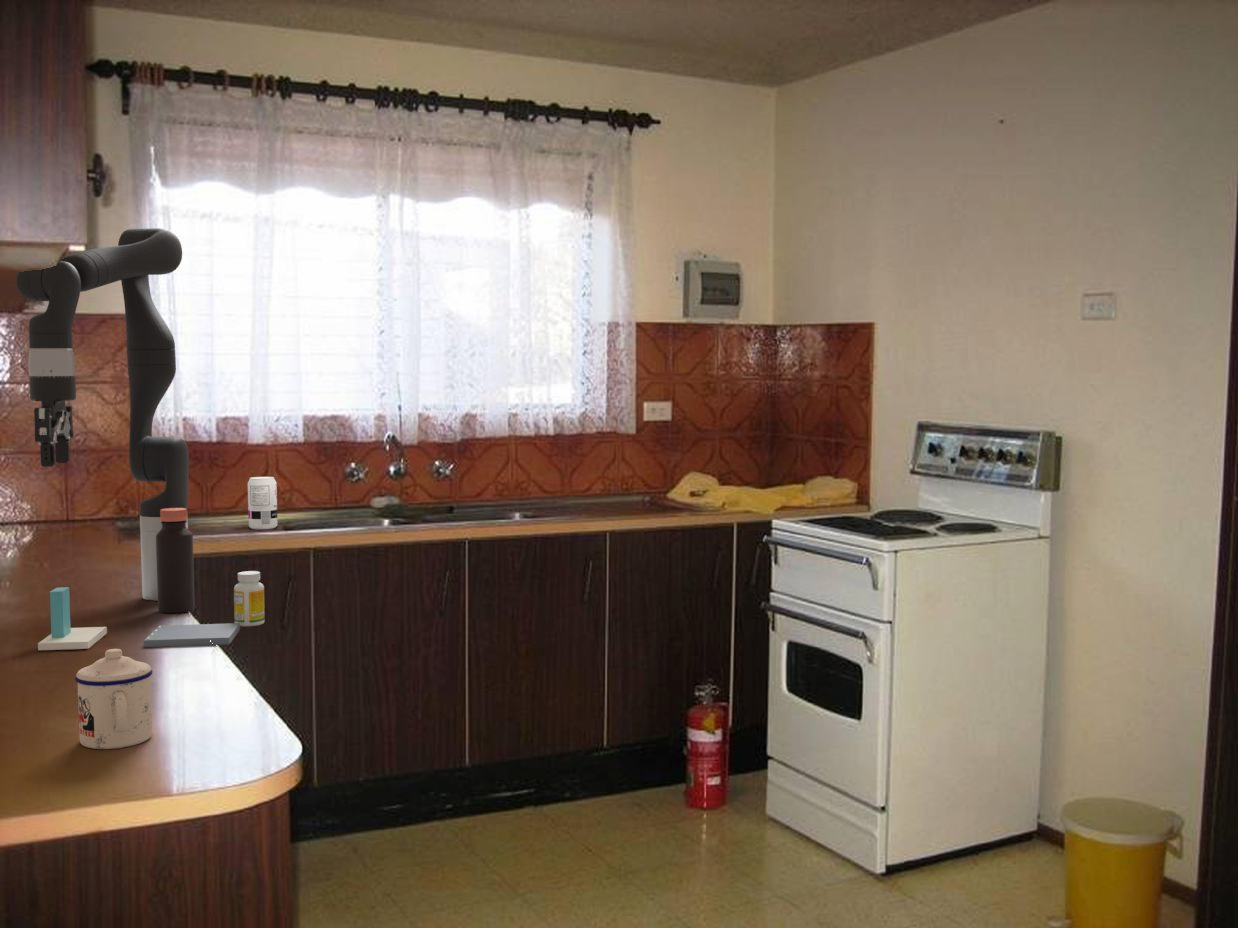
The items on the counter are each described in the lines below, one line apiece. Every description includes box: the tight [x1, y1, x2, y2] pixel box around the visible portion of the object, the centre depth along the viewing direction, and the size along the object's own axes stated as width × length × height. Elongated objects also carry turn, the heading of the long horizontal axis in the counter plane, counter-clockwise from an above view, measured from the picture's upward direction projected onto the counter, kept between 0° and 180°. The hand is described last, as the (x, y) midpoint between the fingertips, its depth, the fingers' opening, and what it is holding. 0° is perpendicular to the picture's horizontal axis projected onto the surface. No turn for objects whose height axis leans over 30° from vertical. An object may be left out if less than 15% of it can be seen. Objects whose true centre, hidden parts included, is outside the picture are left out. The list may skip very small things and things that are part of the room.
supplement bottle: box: [233, 570, 265, 627], centre depth 226 cm, size 5×5×10 cm
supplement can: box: [247, 476, 279, 531], centre depth 362 cm, size 8×8×15 cm
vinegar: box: [156, 508, 196, 615], centre depth 238 cm, size 7×7×20 cm
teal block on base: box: [37, 586, 108, 651], centre depth 211 cm, size 12×8×9 cm, turn 9°
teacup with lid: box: [74, 648, 153, 750], centre depth 155 cm, size 12×9×12 cm
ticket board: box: [143, 622, 241, 648], centre depth 215 cm, size 12×14×1 cm
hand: (55, 464), depth 220 cm, fingers open, 8 cm apart
